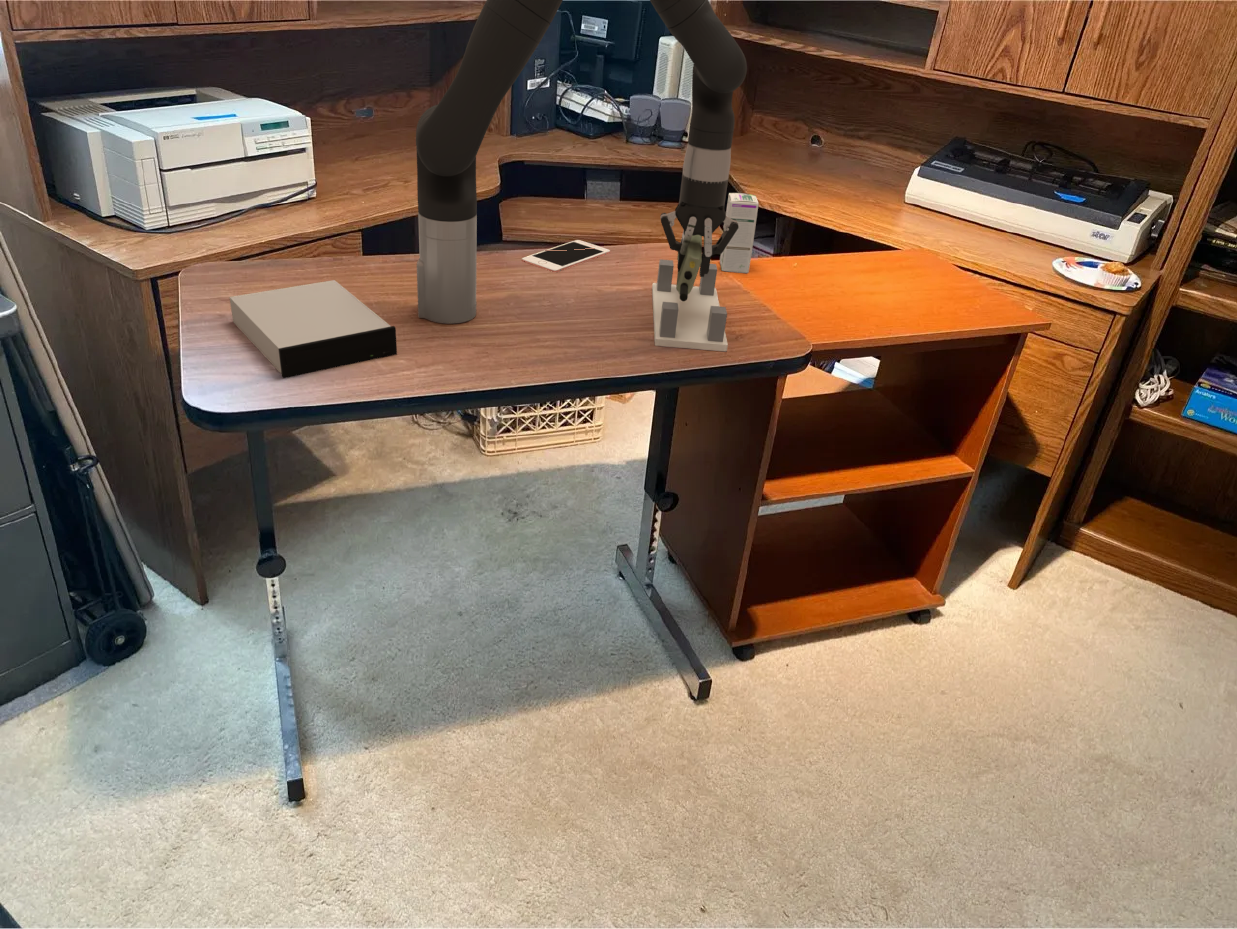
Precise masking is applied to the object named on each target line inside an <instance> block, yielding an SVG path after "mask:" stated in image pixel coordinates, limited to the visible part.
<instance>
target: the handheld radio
mask: <svg viewBox="0 0 1237 929" xmlns="http://www.w3.org/2000/svg"><path fill="white" fill-rule="evenodd" d="M702 246H703V236H700V235H694V236H692V238H691V241H690V243H689V246H688V248H687V251H686V254H685V257H684V260H683V262H682V265H681V268H680V271H679V272H678V271H677V276H676V284H675V285H676V289H677V291H678V292H679V294H680V300H681V301H686V300H687V298H688V294H689V293H690V292H691V290H692V288H693V286H694V284H695V283H696V280H697V277H698V274H699V272H700V265H701V262H702V253H703V250H702V249H703V247H702ZM678 256H679V253H678V252H677V256H676V258H677V259H676V260H677V261H678Z"/></svg>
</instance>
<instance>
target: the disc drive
mask: <svg viewBox="0 0 1237 929" xmlns="http://www.w3.org/2000/svg"><path fill="white" fill-rule="evenodd" d="M228 299H229V304H230V310H231V316H232V323H233V324H234V325H235V326H236V327H237V328H238V330H240V331H241V333H243V334H244V336H246V338H247V339H248V340H249V341H250V342H251V343H252V344H253V345H254V347H256V348H257V350H259V352H260V354H262V355H263V356H264V357H265V359H267V360H268V361H269V363H271V365H272V366H273V367H274V368H275V369H276V370H277V371H278V372H279V373H280V375H281V378H282V379H288V378H292V377H297V376H300V375H306V374H312V373H314V372H315V373H317V372H319V371H320V372H321V371H326V370H329V369H334V368H339V367H344V366H347V365H353V364H359V363H362V362H363V363H364V362H368V361H372V360H376V359H377V360H378V359H382V358H386V357H390V356H396V355H398V350H397V349H398V346H397V344H398V343H397V328H396V326H394V325H390V324H389V323H388V322H386V321H385V319H383V318H382V317H380V316H379V315H378V314H376V313H375V312H374V311H373V310H371V308H369V307H368V306H367V305H366V304H364V303H363V302H362V301H361V300H359V299H358V297H356V296H355V295H354V294H353V293H351V292H350V291H349V290H347V288H345V287H343V286H342V284H340V283H339V282H338V281H336V280H335V279H333V280H326V281H320V282H313V283H309V284H302V285H301V284H300V285H295V286H289V287H283V288H278V289H277V288H276V289H271V290H264V291H259V292H252V293H245V294H239V295H235V296H229V298H228Z"/></svg>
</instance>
